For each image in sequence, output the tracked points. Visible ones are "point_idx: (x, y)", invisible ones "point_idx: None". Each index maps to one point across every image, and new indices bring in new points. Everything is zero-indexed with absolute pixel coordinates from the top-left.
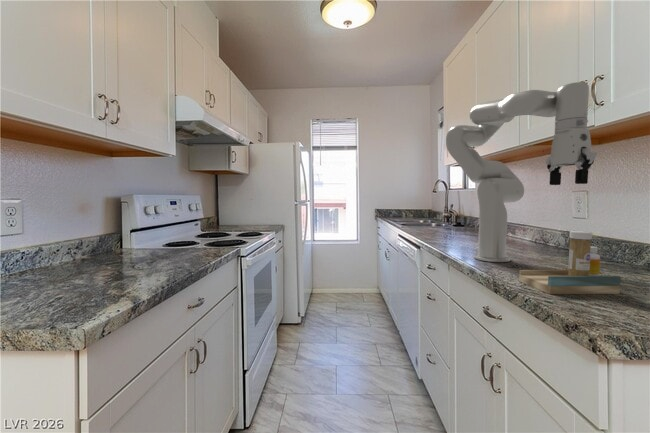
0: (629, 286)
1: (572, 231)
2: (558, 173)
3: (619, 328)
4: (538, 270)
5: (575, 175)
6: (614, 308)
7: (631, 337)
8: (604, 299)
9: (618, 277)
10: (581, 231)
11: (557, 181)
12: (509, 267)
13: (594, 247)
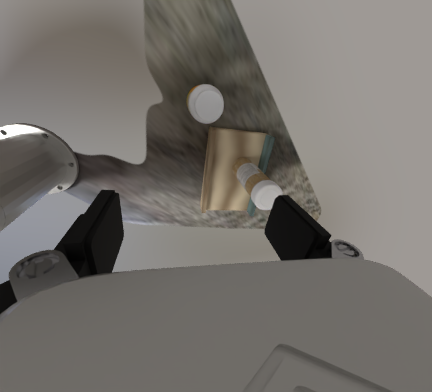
0: (247, 78)
1: (263, 209)
2: (97, 256)
3: (310, 212)
4: (207, 192)
5: (279, 257)
6: (289, 182)
7: (318, 216)
8: (272, 169)
9: (273, 140)
10: (268, 196)
11: (115, 219)
12: (121, 171)
13: (220, 104)
